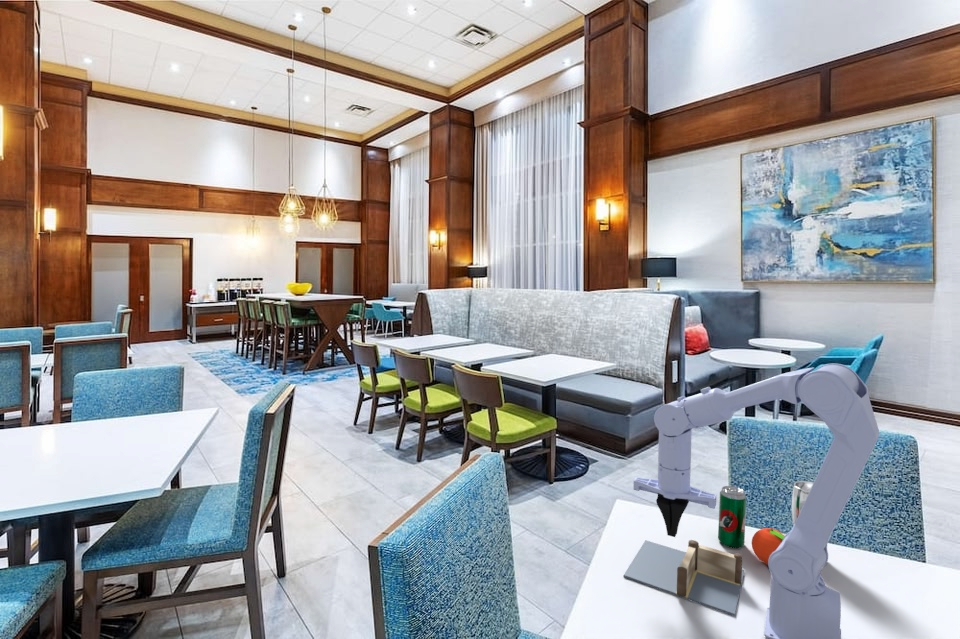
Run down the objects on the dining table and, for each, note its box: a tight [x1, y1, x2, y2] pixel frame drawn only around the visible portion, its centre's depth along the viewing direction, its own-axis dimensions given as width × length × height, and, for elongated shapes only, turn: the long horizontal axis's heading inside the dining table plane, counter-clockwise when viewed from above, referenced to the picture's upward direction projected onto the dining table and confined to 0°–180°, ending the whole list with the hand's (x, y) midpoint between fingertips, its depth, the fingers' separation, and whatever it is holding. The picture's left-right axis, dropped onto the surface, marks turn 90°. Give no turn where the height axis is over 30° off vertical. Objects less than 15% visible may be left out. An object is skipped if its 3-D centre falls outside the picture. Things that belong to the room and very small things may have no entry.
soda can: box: [717, 485, 747, 549], centre depth 103 cm, size 5×5×12 cm
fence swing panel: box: [677, 547, 696, 598], centre depth 88 cm, size 10×2×5 cm, turn 145°
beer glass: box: [791, 480, 828, 565], centre depth 97 cm, size 7×7×15 cm
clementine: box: [751, 527, 785, 565], centre depth 95 cm, size 8×7×7 cm
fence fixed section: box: [687, 539, 744, 585], centre depth 91 cm, size 9×2×5 cm, turn 55°
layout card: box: [623, 540, 745, 617], centre depth 92 cm, size 19×15×1 cm
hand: (672, 533), depth 91 cm, fingers closed
